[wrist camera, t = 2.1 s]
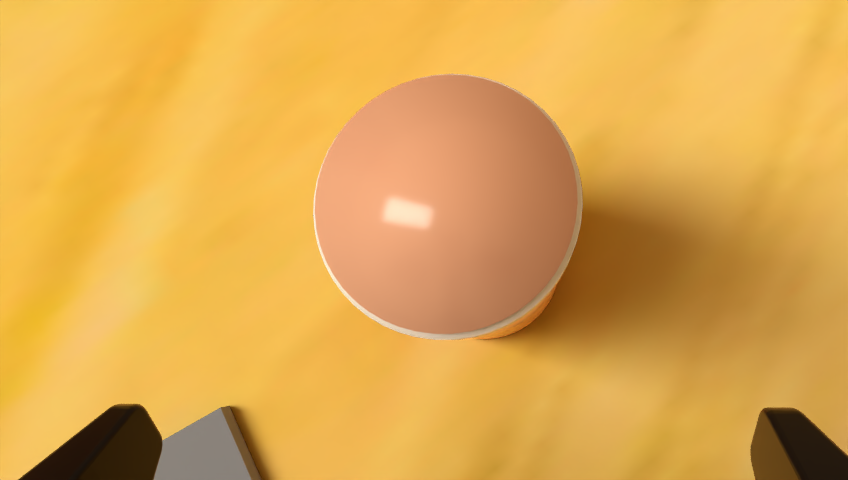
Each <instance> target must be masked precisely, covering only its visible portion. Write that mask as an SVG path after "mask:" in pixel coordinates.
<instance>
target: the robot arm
mask: <svg viewBox="0 0 848 480" xmlns="http://www.w3.org/2000/svg"><path fill="white" fill-rule="evenodd" d="M162 446H163V444H162V437H161V434H160V432H159V431H158V429H157V427H156V426H155V424H154V422H153V421H152V419H151V417H150V416H149V414H148V412H147V411H146V409H145V408H144V407H143V406H141V405H140V404H117V405H114V406H112V407H110V408H109V409H108V410H106V411H105V412H104V413H103V414H101V415H100V416H99V417H97V418H96V419H95V420H94V421H92V422H91V423H90V424H88V425H87V426H86V427H85V428H83V429H82V430H81V431H80V432H78V433H77V434H76V435H74V436H73V437H72V438H71V439H69V440H68V441H67V442H66V443H64V444H63V445H62V446H60V447H59V448H58V449H57V450H55V451H54V452H53V453H52V454H50V455H49V456H48V457H46V458H45V459H44V460H43V461H41V462H40V463H39V464H38V465H36V466H35V467H34V468H32V469H31V470H30V471H29V472H27V473H26V474H25V475H23V476H22V477H21V478H20V479H18V480H154V476H155V473H156V470H157V466H158V463H159V459H160V456H161V452H162ZM751 462H752V467H753V471H754V476H755V480H848V455H846V454H845V453H844V452H843V451H842V450H841V449H840V448H839V447H838V446H837V445H836V444H835V443H834V442H833V441H832V440H831V439H829V438H828V437H827V436H826V435H825V434H824V433H823V432H822V431H821V430H820V429H819V428H818V427H817V426H816V425H815V424H814V423H813V422H811V421H810V420H809V419H808V418H807V417H806V416H805V415H804V414H803V413H802V412H800V411H799V410H797V409H794V408H764V409H763V410H762V411H761V412H760V414H759V417H758V421H757V425H756V429H755V432H754V436H753V440H752V443H751Z"/></svg>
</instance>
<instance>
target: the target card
mask: <svg viewBox="0 0 848 480" xmlns="http://www.w3.org/2000/svg"><path fill="white" fill-rule="evenodd" d="M162 444H163V446H162V452H161V456H160V459H159V463H158V466H157V470H156V473H155V476H154V480H261V477H260V475H259V473H258V470H257V468H256V466H255V464H254V461H253V459H252V457H251V454H250V452H249V450H248V447H247V445H246V443H245V441H244V438H243V436H242V434H241V431H240V429H239V427H238V425H237V422H236V420H235V418H234V415H233V413H232V411H231V409H230V406H226V407H221V408H219V409H217V410H215V411H214V412H212V413H210V414H208V415H207V416H205V417H203V418H201V419H200V420H198V421H196V422H194V423H193V424H191V425H189V426H187V427H186V428H184V429H182V430H180V431H179V432H177V433H175V434H173V435H172V436H170V437H168V438H166V439H164V440H163V441H162Z"/></svg>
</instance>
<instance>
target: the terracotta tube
mask: <svg viewBox="0 0 848 480" xmlns="http://www.w3.org/2000/svg"><path fill="white" fill-rule="evenodd" d="M582 208H583V201H582V185H581V180H580V174H579V169H578V166H577V163H576V160H575V157H574V154H573V152H572V150H571V148H570V146H569V144H568V142H567V140H566V138H565V136H564V135H563V133H562V132H561V130H560V129H559V127H558V126H557V124H556V123H555V122H554V121H553V120H552V119H551V118H550V116H549V115H548V114H547V113H546V112H545V111H544V110H543V109H542V108H541V107H539V106H538V105H537V104H536V103H535V102H534V101H532V100H531V99H530V98H528V97H526V96H525V95H523V94H522V93H520V92H519V91H517V90H515V89H513V88H511V87H509V86H507V85H504V84H502V83H500V82H496V81H493V80H490V79H487V78H483V77H477V76H472V75H461V74H444V75H433V76H428V77H423V78H418V79H415V80H412V81H409V82H406V83H403V84H400V85H398V86H396V87H394V88H392V89H389V90H387V91H385V92H384V93H382V94H381V95H379V96H377V97H376V98H374V99H373V100H371V101H370V102H369V103H367V104H366V105H365V106H364V107H362V108H361V109H360V110H359V111H358V112H357V113H356V114H355V115H354V116H353V117H352V118H351V119H350V120H349V121H348V122H347V123H346V124H345V126H344V127H343V128H342V130H341V131H340V132H339V134H338V135H337V136H336V138H335V140H334V141H333V143H332V145H331V147H330V148H329V150H328V152H327V154H326V157H325V159H324V161H323V164H322V166H321V169H320V173H319V176H318V179H317V183H316V189H315V196H314V214H313V216H314V227H315V234H316V239H317V243H318V247H319V251H320V253H321V256H322V259H323V261H324V264H325V266H326V268H327V270H328V272H329V273H330V275H331V277H332V279H333V281H334V282H335V283H336V285H337V286H338V287H339V289H340V290H341V292H342V293H343V294H344V295H345V296H346V297H347V298H348V299H349V300H350V301H351V303H352V304H353V305H354V306H356V307H357V308H358V309H359V310H361V311H362V312H363V313H364V314H366V315H367V316H368V317H370V318H371V319H373V320H375V321H376V322H378V323H380V324H381V325H383V326H385V327H388V328H390V329H392V330H395V331H397V332H400V333H403V334H407V335H411V336H414V337H419V338H427V339H434V340H461V339H469V338H476V339H492V338H500V337H503V336H507V335H510V334H513V333H515V332H517V331H519V330H521V329H523V328H524V327H526V326H528V325H529V324H530V323H531V322H533V321H534V320H535V319H536V318H537V317H538V316H539V315H540V314H541V313H542V312H543V310H544V309H545V308H546V306H547V305H548V304H549V302H550V300H551V298H552V296H553V294H554V291H555V289H556V286H557V283H558V281H559V280H560V278H561V276H562V275H563V273H564V271H565V269H566V267H567V266H568V263H569V261H570V258H571V256H572V253H573V250H574V248H575V245H576V242H577V239H578V234H579V230H580V226H581V219H582Z"/></svg>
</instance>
